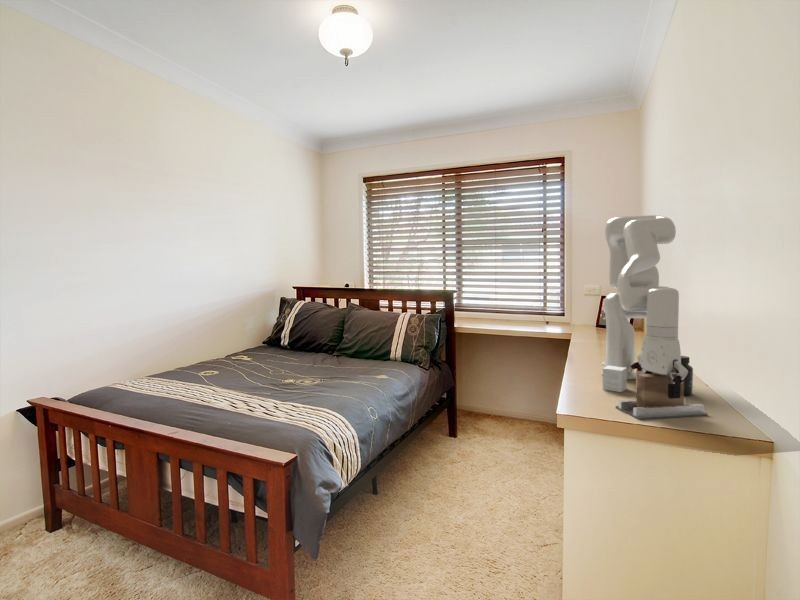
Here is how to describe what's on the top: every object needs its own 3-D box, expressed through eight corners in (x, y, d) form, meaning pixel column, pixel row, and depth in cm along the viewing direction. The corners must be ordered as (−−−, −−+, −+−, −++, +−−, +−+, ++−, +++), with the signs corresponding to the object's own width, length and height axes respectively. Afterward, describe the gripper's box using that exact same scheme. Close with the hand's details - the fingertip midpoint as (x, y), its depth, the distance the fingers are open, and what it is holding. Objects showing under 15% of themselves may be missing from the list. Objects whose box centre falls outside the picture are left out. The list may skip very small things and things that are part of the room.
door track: (615, 407, 119) (615, 399, 119) (678, 404, 121) (678, 395, 121) (639, 419, 109) (639, 410, 109) (707, 415, 111) (707, 406, 111)
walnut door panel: (636, 409, 116) (637, 374, 115) (675, 406, 117) (675, 372, 117) (644, 412, 113) (644, 376, 112) (683, 410, 114) (684, 374, 114)
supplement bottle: (696, 396, 128) (697, 358, 127) (672, 395, 129) (673, 358, 129) (686, 390, 135) (687, 354, 134) (663, 390, 136) (663, 354, 135)
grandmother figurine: (652, 387, 139) (653, 350, 138) (656, 390, 135) (656, 352, 134) (627, 386, 141) (627, 349, 140) (629, 389, 137) (630, 351, 137)
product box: (627, 389, 138) (627, 367, 138) (621, 392, 134) (622, 370, 133) (607, 385, 142) (608, 365, 142) (601, 389, 138) (602, 368, 137)
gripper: (628, 328, 122) (627, 385, 123) (673, 337, 105) (672, 403, 106) (651, 328, 123) (650, 384, 124) (700, 336, 106) (698, 401, 106)
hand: (660, 393), depth 115 cm, fingers open, 9 cm apart
